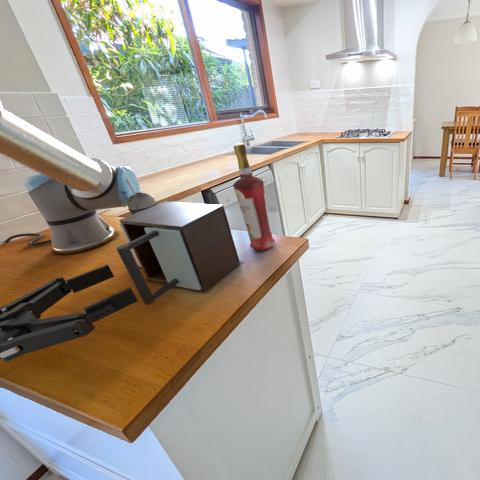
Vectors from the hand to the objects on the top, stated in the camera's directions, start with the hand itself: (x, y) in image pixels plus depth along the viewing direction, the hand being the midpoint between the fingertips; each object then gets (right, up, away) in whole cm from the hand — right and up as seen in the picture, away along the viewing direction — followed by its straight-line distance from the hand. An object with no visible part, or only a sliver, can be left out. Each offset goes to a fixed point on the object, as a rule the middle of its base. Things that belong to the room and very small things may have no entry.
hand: (121, 281), depth 55 cm
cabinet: (+4, 0, +18) cm, 18 cm away
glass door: (+4, -5, +8) cm, 10 cm away
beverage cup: (-17, +7, +35) cm, 40 cm away
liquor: (+19, +6, +27) cm, 33 cm away
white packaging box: (-8, +2, +24) cm, 25 cm away
